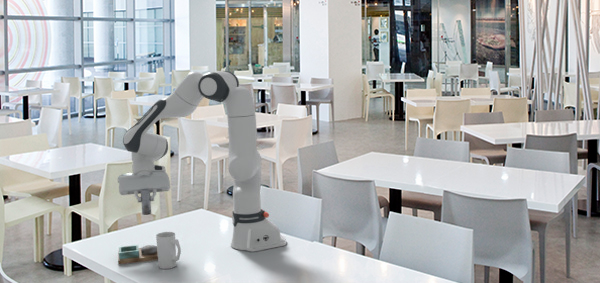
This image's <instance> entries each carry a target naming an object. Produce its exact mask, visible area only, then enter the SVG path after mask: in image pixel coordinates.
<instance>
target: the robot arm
mask: <svg viewBox="0 0 600 283" xmlns="http://www.w3.org/2000/svg"><path fill="white" fill-rule="evenodd" d="M204 98H205V99H208V100H210V101H214V102H219V103H224V104H225V107H226V115H227V116H226V117H227V126H228V127H227V128H228V129H227V130H228V172H229V175H230V176H231V178H232V179H233V188H232V204H233V206H232V207H233V210H232V216H231V218H232V226H233V231H232V238H231V242H230V247H231V248H233V249H236V250H240V251H246V252H253V253H254V252H258V251H259V252H260V251H264V250H269V249H274V248H279V247H283V246H286V245H287V240H286V237H284V236H283V235H281V232H280V231H281V230H280V229H279V227H278V225H277V224H275V223H274V222H272V221H271V220H269V219H268V218H269V217H270V214H269V213H268V212H267V211H266V210H264V209H263V208H262V207H261V205H262V204H261V203H262V202H261V201H262V200H261V198H262V197H261V182H262V156H261V154H260V153H259V151H258V150H257V145H258V144H257V143H258V142H257V140H258V139H257V138H258V128H257V118H256V117H257V115H256V108H255V102H254V97H253V94H252V92H251V90H250V89H249V88H247V87H245V86H240V81H239V79H238V77H237V76H236V74H234V73H233V72H231V71H228V70H223V71H222V70H215V71H209V72H207V73H204V74H203V73H201V72H198V71H191V72H188V74H187V75H186V76H185V77H184V78H182V80H181V81H180V82H179V84H178V85H177V86H176V88H175V89H174V90H173V91H172V92H171V94H169V95H167V96H166V97H165V98H161V99H158V100H156V102H154V104H153V105H152V106H151V107H150V108H149V109H147V111H146V112H145V113H144V115H142V116H141V117H140V119H139V120H138V121H137V122H136V123H135V124H134V125H133V126H131V127H130V128H129V129H128V130H127V131H126V132H125V134H124V135H123V138H122V143H123V145H124V148H125V149H126V150H127V152H129V153H130V152H131V161H132V173H131V172H129V173H121V174H120V175H119V176H117V183H118V184H119V185H118V193H119V194H120V195H121V196H128V195H130V196H131V195H133V196H134V197H135V198H136V200H137V203H141V196H139V194H140V195H141V189H150V194H151V193H152V194H151V195H150V200H151V202H155V197H156V196H157V193H162V192H170V189H171V181H170V177H169V174H168V173H167V172H166V167H165V166H164V165H160V164H154V163H155V162H157V161H159V160H160V159H162V158H163V157H165V156H166V155H167V154H168V151H169V143H168V139H167V138H166V137H165V136H162V135H159V134H157V133H154V132H150V131H149V130H150V129H151V128H152V127H153V126H154V125H155V124H156V123H157V122H158V121H159V120H162V119H165V118H166V119H167V118H186V117H189V116H191V115H192V114H193V113H194V112H195V111H196V109H197V108H198V106H199V105H200V104H201V102H202V100H204Z"/></svg>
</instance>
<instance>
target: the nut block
mask: <svg viewBox="0 0 600 283" xmlns="http://www.w3.org/2000/svg"><path fill="white" fill-rule="evenodd" d="M117 253H118V254H117V264H120V265H125V264H127V263H128V264H134V263H143V262H150V261H151V262H152V261H158V251H157V245H156V244H155V245H154V244H153V245H152V244H150V245H149V244H148V245H143V246H142V247H139V244H133V245H126V246H119V247H118V252H117ZM128 264H127V265H128Z"/></svg>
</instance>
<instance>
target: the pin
mask: <svg viewBox="0 0 600 283" xmlns="http://www.w3.org/2000/svg"><path fill="white" fill-rule="evenodd" d="M150 196H151V193H150V189H141V194H140V197H141V202H140V203H141V215H142V216H149V215H152V201H151V200H150Z"/></svg>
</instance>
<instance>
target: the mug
mask: <svg viewBox="0 0 600 283" xmlns="http://www.w3.org/2000/svg"><path fill="white" fill-rule="evenodd" d="M155 236H156V237H155V238H156V246H157V251H158V260H157V261H158V262H157V263H158V267H159V269H162V270H169V269H173V268H174V267H176V266H177V261H180V257H181V254H182V249H181V244H180V242H179V239H177V238H176V232H173V231H162V232H160V233H157V234H156V235H155ZM176 250H177V251H176ZM176 252H177V253H176Z"/></svg>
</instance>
